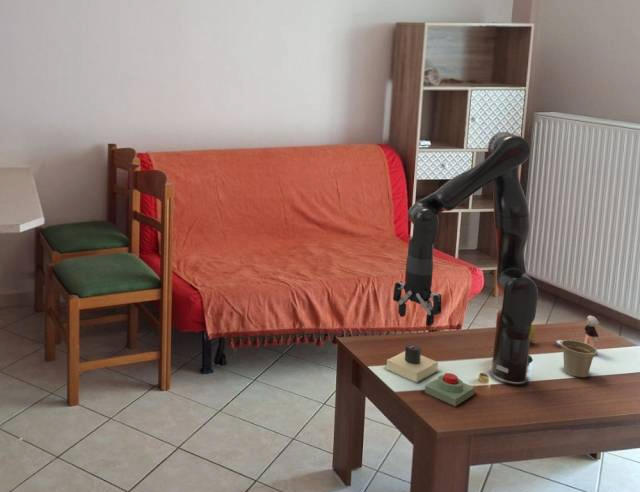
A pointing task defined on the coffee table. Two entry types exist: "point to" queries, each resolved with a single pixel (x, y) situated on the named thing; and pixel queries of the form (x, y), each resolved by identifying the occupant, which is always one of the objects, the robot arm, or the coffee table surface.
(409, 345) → the hob knob
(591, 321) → the grandmother figurine
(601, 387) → the coffee table surface
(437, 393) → the switch box
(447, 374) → the button
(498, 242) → the robot arm
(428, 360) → the panel
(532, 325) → the lemon
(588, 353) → the flower pot
